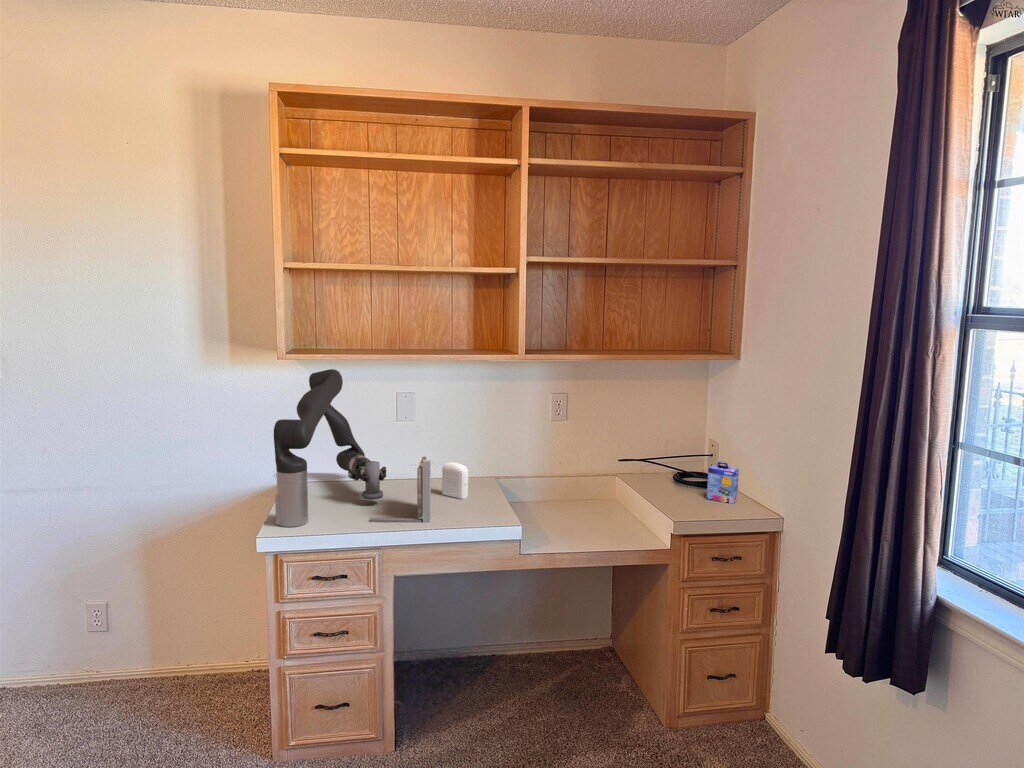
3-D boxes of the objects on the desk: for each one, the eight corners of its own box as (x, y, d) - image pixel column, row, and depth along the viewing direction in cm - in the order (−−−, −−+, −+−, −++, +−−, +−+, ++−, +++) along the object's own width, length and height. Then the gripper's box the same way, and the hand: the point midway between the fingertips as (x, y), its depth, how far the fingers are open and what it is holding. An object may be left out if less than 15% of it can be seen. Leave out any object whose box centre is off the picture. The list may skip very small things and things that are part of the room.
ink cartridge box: (705, 499, 255) (707, 460, 253) (710, 496, 260) (712, 458, 258) (732, 504, 250) (735, 465, 248) (737, 500, 254) (739, 462, 252)
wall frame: (369, 522, 224) (368, 461, 222) (370, 519, 227) (370, 459, 224) (429, 522, 225) (429, 461, 222) (430, 520, 227) (430, 460, 225)
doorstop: (360, 499, 239) (360, 465, 237) (364, 493, 246) (364, 460, 244) (381, 499, 239) (381, 465, 238) (384, 493, 246) (384, 460, 245)
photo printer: (469, 497, 253) (470, 463, 251) (462, 500, 250) (462, 466, 248) (447, 492, 259) (447, 459, 257) (440, 495, 255) (440, 461, 254)
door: (422, 501, 241) (422, 456, 239) (430, 502, 242) (430, 456, 239) (417, 517, 225) (417, 469, 223) (426, 517, 225) (426, 469, 223)
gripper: (341, 458, 251) (353, 469, 236) (380, 455, 257) (395, 466, 242) (342, 479, 252) (354, 491, 237) (381, 475, 258) (395, 487, 243)
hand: (374, 478), depth 239 cm, fingers closed on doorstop, 4 cm apart
